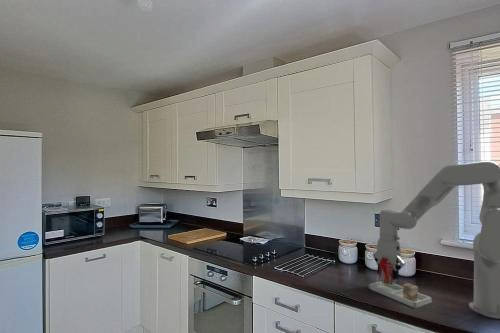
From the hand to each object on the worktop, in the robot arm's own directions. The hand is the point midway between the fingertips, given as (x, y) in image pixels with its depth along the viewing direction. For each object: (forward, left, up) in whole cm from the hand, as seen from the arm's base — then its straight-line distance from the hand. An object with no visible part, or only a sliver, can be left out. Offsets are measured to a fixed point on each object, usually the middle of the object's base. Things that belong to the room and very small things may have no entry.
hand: (387, 275), depth 138 cm
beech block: (-11, 0, -7) cm, 13 cm away
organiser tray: (-6, 0, -7) cm, 9 cm away
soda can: (0, 0, -3) cm, 3 cm away
